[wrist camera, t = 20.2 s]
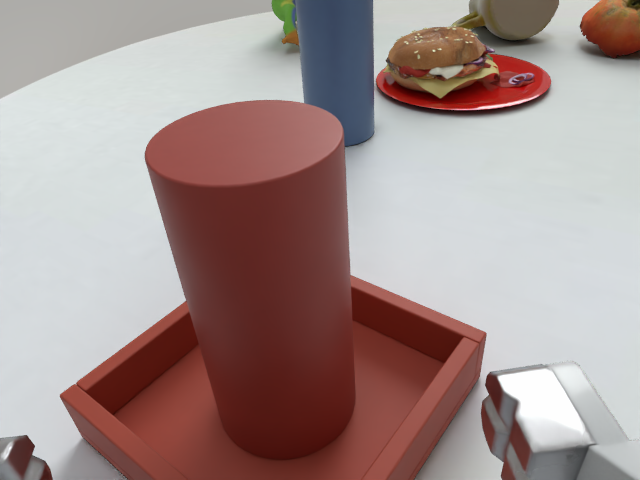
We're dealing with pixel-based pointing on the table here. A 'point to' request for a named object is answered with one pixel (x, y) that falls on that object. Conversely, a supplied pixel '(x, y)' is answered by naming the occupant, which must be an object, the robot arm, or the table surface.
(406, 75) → the hamburger
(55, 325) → the table surface
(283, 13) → the toy
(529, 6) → the mug
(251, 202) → the red canister
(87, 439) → the red tray
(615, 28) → the tomato
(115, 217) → the table surface
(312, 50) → the blue canister
